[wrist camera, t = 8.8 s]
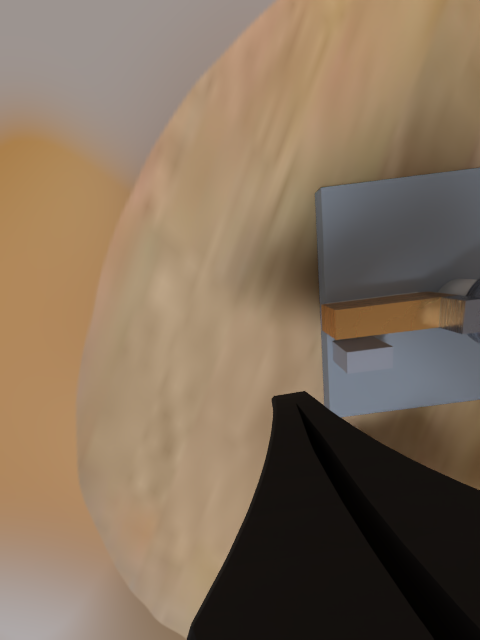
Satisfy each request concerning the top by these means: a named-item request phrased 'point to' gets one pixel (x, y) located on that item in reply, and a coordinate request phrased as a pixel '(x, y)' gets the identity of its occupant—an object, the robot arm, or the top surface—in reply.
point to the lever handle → (404, 314)
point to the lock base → (399, 287)
